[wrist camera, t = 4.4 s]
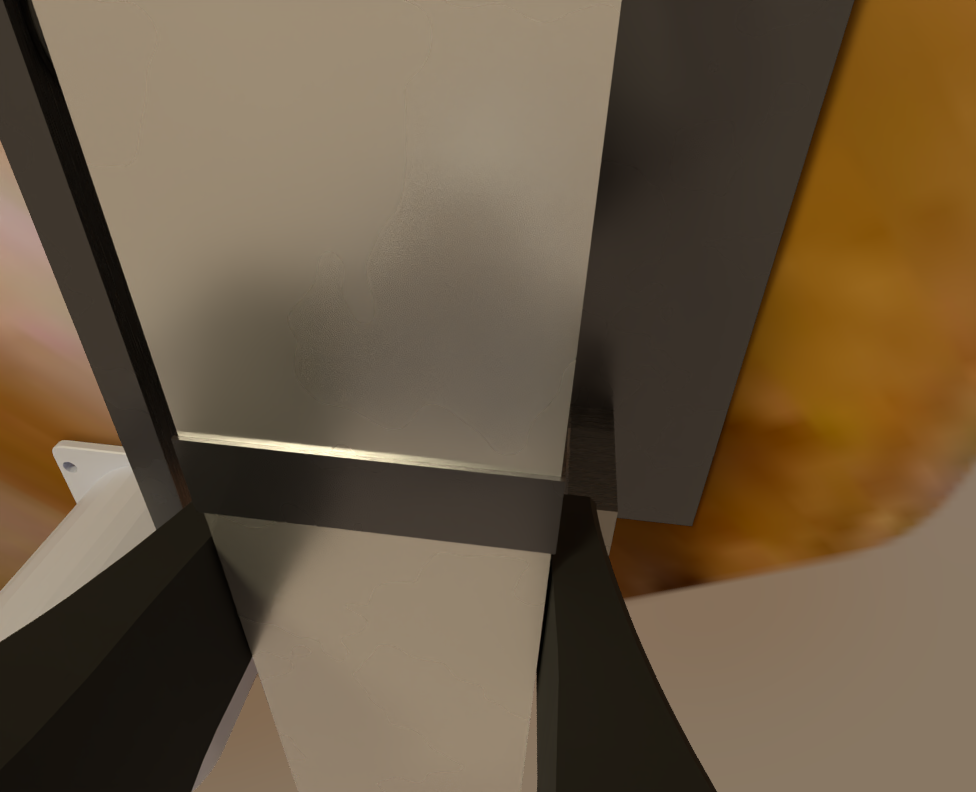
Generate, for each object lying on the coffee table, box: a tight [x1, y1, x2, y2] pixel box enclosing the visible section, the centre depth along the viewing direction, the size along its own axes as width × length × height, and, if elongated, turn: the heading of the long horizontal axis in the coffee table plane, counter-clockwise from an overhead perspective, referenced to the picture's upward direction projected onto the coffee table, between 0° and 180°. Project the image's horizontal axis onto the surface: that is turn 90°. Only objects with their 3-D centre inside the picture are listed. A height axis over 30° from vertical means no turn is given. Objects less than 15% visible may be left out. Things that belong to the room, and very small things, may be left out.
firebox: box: [0, 0, 854, 556], centre depth 14 cm, size 20×15×6 cm
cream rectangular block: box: [32, 0, 622, 792], centre depth 11 cm, size 20×4×4 cm, turn 178°
